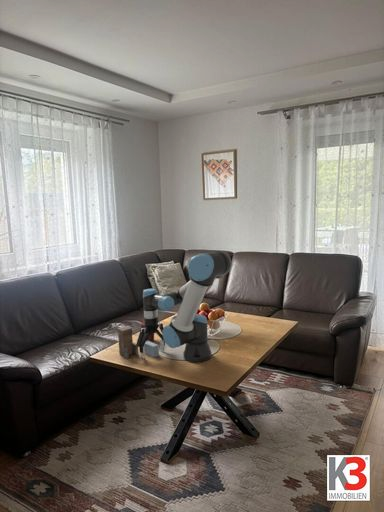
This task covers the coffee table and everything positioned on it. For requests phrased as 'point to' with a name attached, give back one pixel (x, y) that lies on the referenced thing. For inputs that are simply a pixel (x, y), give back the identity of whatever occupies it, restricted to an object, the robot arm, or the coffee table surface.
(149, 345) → the light blue block
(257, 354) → the coffee table surface
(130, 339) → the post
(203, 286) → the robot arm
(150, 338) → the mechanical component
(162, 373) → the coffee table surface
